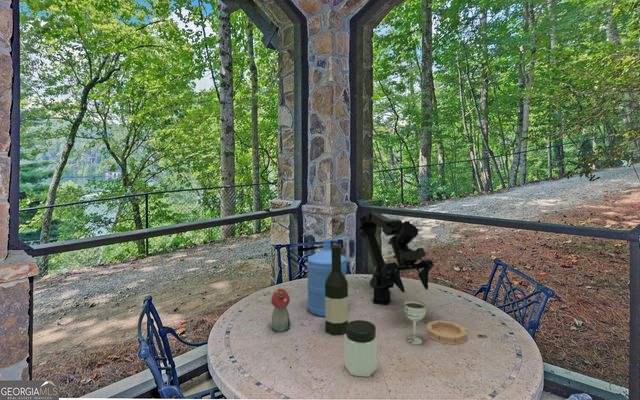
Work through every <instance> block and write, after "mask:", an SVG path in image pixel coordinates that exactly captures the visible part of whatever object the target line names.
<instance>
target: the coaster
mask: <svg viewBox="0 0 640 400" xmlns="http://www.w3.org/2000/svg"><path fill="white" fill-rule="evenodd" d="M425 334H426V336H427V337H428V338H429V339H431V340H432V341H435V342H437V343H440V344H444V345H445V344H446V345H461V344H464V343H466V342H467V340H468V334H467V332H466V328H465V327H464V326H462V325H459V324H457V323H456V322H452V321H450V320H449V321H448V320H447V321H446V320H433V321H430V322H427V323H426V328H425Z"/></svg>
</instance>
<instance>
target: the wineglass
mask: <svg viewBox="0 0 640 400" xmlns="http://www.w3.org/2000/svg"><path fill="white" fill-rule="evenodd" d="M403 303H404V308H403V311H404V314H405V316H406V317H407V318H408V320H410V321H412V323H413V336H408V337H407V338H406V341H407V343H409V344H411V345H421V344H422V343H423V339H421V338H420V337H418V336H416V330H417V329H416V328H417V322H418V321H422V319H424V318H425V316H426V313H427V311H426V303H424V301H423V302H422V301H419V300H412V299H411V300H406V301H404V302H403Z"/></svg>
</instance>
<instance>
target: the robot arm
mask: <svg viewBox="0 0 640 400" xmlns="http://www.w3.org/2000/svg"><path fill="white" fill-rule="evenodd" d="M378 226H379V227H380V228H381V232H382V233H384V234H385V236H392V237H390V238H389V240H388V245H389V246H390V245H391V248H392V251H393V254H394V255H393V256H392V257H393V259H394V260H396V262H389V263H388V262H387V263H385V260H384V256H383V254H382V251H381V249H380V246H379V242H378V239H377V236H376V233H377V232H376V231H377V230H378V229H377V227H378ZM356 229H357V231H358V233H359V235H360V236H361V238H363V239H365V243H366V247H367V250H368V252H369V255H370V259H371V262H372V266H373V271H372V275H371V276H372V277H371V278H370V280H369V284H370V285H369V287H371V288H372V289H373V300H372V303H373V304H377V305H378V304H379V305H387V306H388V305H389V304H390V302H391V298H392V297H391V296H392V291H391V290H390V289H393V288H394V286H396V287H397V288H398V289H399V290H400V291H401V293H403V294H404V293H405V292H406V291H405V287H404V284H403V281H402V279H401V272H403V271H405V272H406V271H412V270H413V271H414V270H416V271H417V272H418V273H417V275H418V277H419V280H420V282H421V283H422V286H423V288H424V289H425V291H427V290H428V289H429V272H430V271H431V270H432V268H434V267H435V264H434V261H433V260H432V259H423V257H425V256H426V252H425V249H424V248H423V247H418V248H416V250H413V249H412V248H410V247H409V244H411V242H412V241H413V240H414V239H415V238H416V237H417V236H418V235H419V229H418V228H417V226H415V224H413V223H411V222H410V220H404V221H402V220H401V219H397V218H396V219H395V218H389V217H387V216H386V215H383V214H381V213H380V212H379V211H377V210H375V211H368V212H366V213H365V214H364V215H363V216H360V218H359V219H358V220H357V222H356ZM418 260H419V262H418ZM417 262H418V263H417Z"/></svg>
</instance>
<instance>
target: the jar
mask: <svg viewBox="0 0 640 400" xmlns="http://www.w3.org/2000/svg"><path fill="white" fill-rule="evenodd" d="M376 330H377V329H376V326H375V324H374V323H372V322H371V321H368V320H363V319H362V320H361V319H359V320H358V319H357V320H352V321H348V324H347V325H346V333H345V334H344V367H345V368H346V369H347V371H348V372H349V374H350V375H351V376H353V375H354V376H355V377H356V376H357V377H367V378H368V377H371V376H372V374H374V373H375V372H376V371H377V370H378V337H377V335H376V332H377V331H376Z"/></svg>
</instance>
